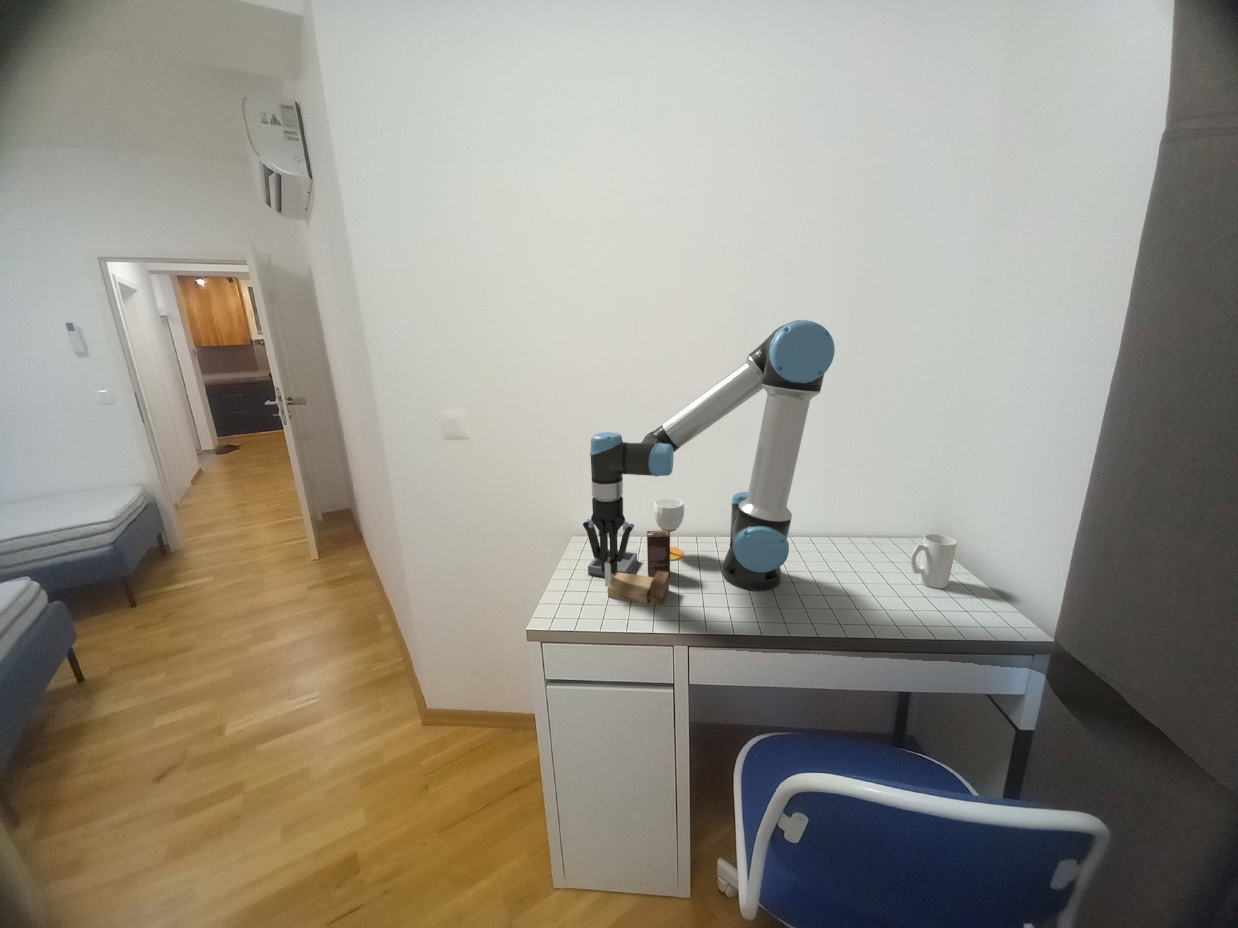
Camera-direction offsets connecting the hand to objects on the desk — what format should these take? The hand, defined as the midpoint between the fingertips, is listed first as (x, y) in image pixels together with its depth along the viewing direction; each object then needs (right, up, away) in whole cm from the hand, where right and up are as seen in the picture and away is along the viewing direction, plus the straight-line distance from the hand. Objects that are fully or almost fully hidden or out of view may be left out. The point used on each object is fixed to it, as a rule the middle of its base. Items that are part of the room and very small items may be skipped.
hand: (609, 583), depth 114 cm
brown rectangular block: (+12, -2, -4) cm, 13 cm away
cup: (+17, +4, +19) cm, 26 cm away
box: (+13, +1, +7) cm, 15 cm away
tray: (+1, +2, +11) cm, 11 cm away
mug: (+81, 0, 0) cm, 81 cm away
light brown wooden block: (+6, -2, -1) cm, 6 cm away
